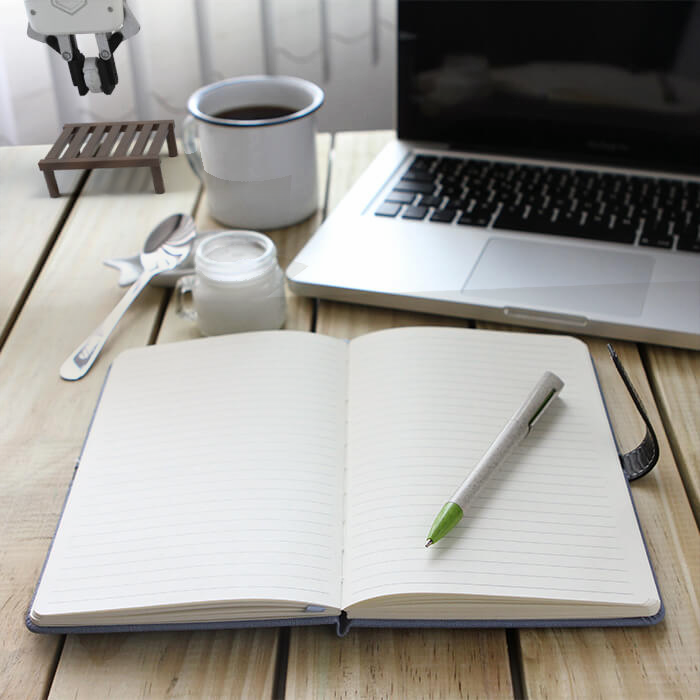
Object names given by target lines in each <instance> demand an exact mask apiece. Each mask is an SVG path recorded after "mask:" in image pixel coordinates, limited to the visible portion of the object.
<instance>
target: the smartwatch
mask: <svg viewBox="0 0 700 700" xmlns="http://www.w3.org/2000/svg"><path fill="white" fill-rule="evenodd" d="M98 59H99V56H85V62H84V68H83V72H84V74H85V75H84V79H85V83H86V86H87V87H89V92H91V94H102V93H104V92H103V88H102V83H101V79H100V74H99V70H98V66H97V61H98Z"/></svg>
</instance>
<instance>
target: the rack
mask: <svg viewBox="0 0 700 700" xmlns="http://www.w3.org/2000/svg"><path fill="white" fill-rule="evenodd" d="M175 128H176V123H175V119H154V120H130V121H129V120H128V121H108V122H107V121H103V122H77V123H64V125H63V126H62V132H61V133H60V135H59V136H58V138H57V139H56V141H55V142H54V143H53V145H52V147H51V148H50V149H49V151H48V153H47V154H46V155H45V157H44V158H41V159H39V161H38V162H37V165H38V169H39V171H40V172H42V174H43V177H44V180H45V184H46V188H47V191H48V194H49V197H50V198H51V199H56V198H59V197H60V196H61V192H60V188H59V185H58V181H57V178H56V177H57V176H56V174H55V171H76V170H77V171H79V170H99V169H101V170H102V169H128V168H149V170H150V175H151V180H152V185H153V188H154V189H153V190H154V193H155V194H158V195H160V194H164V193H165V192H166V187H165V183H164V182H165V181H164V178H163V173H162V167H161V164H162V158H161V155H160V154H161V152H162V148H163V146H164V143H165V141H166V146H167V147H166V148H167V152H168V156H169V157H174V158H175V157H178V155H179V151H178V150H179V149H178V145H177V140H176V139H177V138H176V133H175ZM138 132H139V135H138V136H137V139H136V141H135V143H134V145H133V147H132V149H131V151H130V154H129V155H127V154H128V152H129V149H130V147H131V145H132V143H133V141H134V140H135V137H136V135H137V133H138ZM153 132H155V135H154V137H153V139H152V141H151V144H150V146H149V148H148V151H147V152H146V154H144V152H145V150H146V148H147V147H148V146H147V145H148V144H149V141H150V139H151V137H152V134H153ZM122 133H123V134H122ZM90 134H91V136H90ZM106 134H107V135H106ZM121 134H122V137H121V138H120V136H121ZM105 135H106V137H105V138H104V136H105ZM89 136H90V137H89ZM88 137H89V139H88ZM103 138H104V140H103ZM119 138H120V141H119V143H118V144H117V146H116V148H115V150H114V152H113V153H112V151H113V149H114V147H115V145H116V143H117V142H118V139H119ZM87 139H88V140H87ZM86 140H87V141H86ZM102 140H103V142H102ZM85 142H86V144H85ZM101 142H102V144H101ZM84 144H85V145H84ZM100 144H101V146H100V147H99V145H100ZM67 146H68V147H67ZM83 146H84V147H83ZM66 147H67V148H66ZM82 147H83V149H82ZM98 147H99V150H98V151H97V153H96V155H95V156H94V154H95V152H96V150H97V149H98ZM65 148H66V149H65ZM81 149H82V150H81ZM63 152H64V153H63ZM62 153H63V154H62ZM111 153H112V156H111ZM61 155H62V156H61ZM60 156H61V157H60Z"/></svg>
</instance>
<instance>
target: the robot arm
mask: <svg viewBox="0 0 700 700" xmlns="http://www.w3.org/2000/svg"><path fill="white" fill-rule="evenodd" d="M23 4H24V8H25V12H26V16H27V19H28V21H27V28H26V29H27V30H26V35H27V37H28V38H29V39H31V40H34V41H37V42H39V43H41V44H45V45H47V46H49V47H50V48H51V49H52V50H54V51H55V52H56V53H58V54H59V55H60V56H61V58H62V60H63V61H65V62H66V63H67V67H68V71H69V75H70V78H71V82H72V85H73V87H77V91H78V95H79V96H80V97H85V96H86V95H88V93H89V92H90V90H89V87H87V86H86V83H85V79H84V75H85V74H84V72H83V68H84V62H85V58H86V56H85V55H84V53H83V52H81V50H80V49H79V45H78V40H77V36H76V35H89V34H91V35H93V34H94V38H95V41H96V45H97V49H98V58H99V59H98V61H97V66H98V70H99V74H100V79H101V83H102V88H103V92H102V93H103V94H104V95H105V96H111V95H112V94H113V92H114V90H115V89H116V86H117V85H119V74H118V70H117V66H116V61H115V56H114V54H115V52H116V51H117V49H118V48H119V46H120V45H121V44H122V43H123V42H124V41H127V40H128V39H130V38H133V37H134V36H136V35H137V34H139V32H140V30H141V25H140V23H139V21H138V19H137V18H136V16H135V15H134V13H133V12H132V10H131V8H130V7H129V6H128V1H127V0H23Z"/></svg>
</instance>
